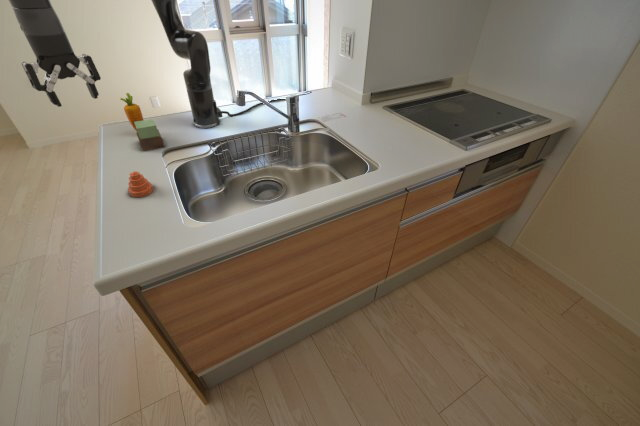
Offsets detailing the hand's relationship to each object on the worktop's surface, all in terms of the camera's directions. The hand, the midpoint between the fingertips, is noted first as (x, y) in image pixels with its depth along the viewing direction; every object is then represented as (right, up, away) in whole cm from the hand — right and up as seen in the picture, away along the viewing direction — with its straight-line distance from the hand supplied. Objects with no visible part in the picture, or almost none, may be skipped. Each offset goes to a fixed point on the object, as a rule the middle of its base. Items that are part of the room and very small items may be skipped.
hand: (77, 101), depth 78 cm
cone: (+13, -23, +7) cm, 27 cm away
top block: (+4, -2, +25) cm, 25 cm away
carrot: (-3, 0, +33) cm, 33 cm away
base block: (+4, -5, +28) cm, 28 cm away
